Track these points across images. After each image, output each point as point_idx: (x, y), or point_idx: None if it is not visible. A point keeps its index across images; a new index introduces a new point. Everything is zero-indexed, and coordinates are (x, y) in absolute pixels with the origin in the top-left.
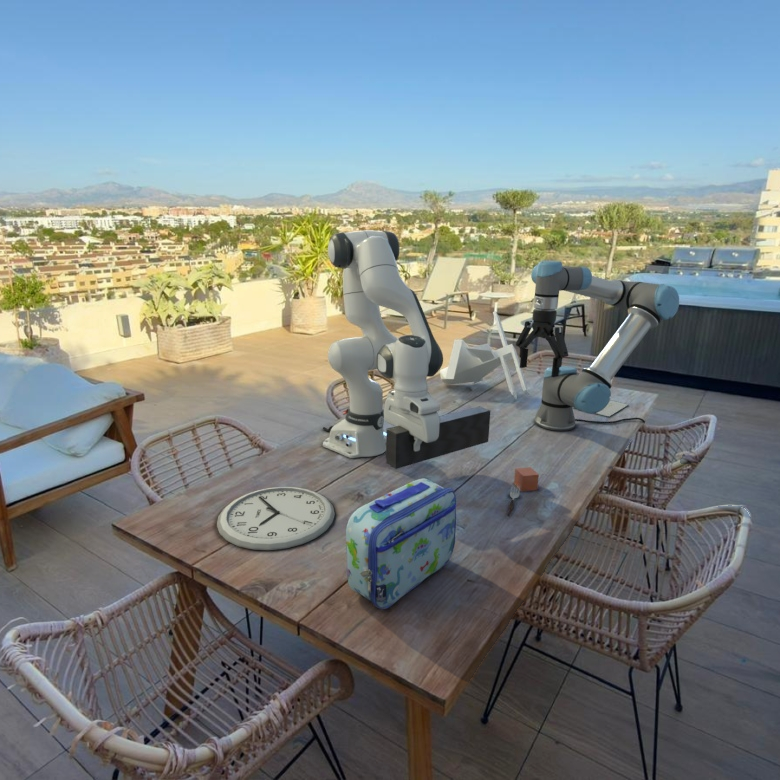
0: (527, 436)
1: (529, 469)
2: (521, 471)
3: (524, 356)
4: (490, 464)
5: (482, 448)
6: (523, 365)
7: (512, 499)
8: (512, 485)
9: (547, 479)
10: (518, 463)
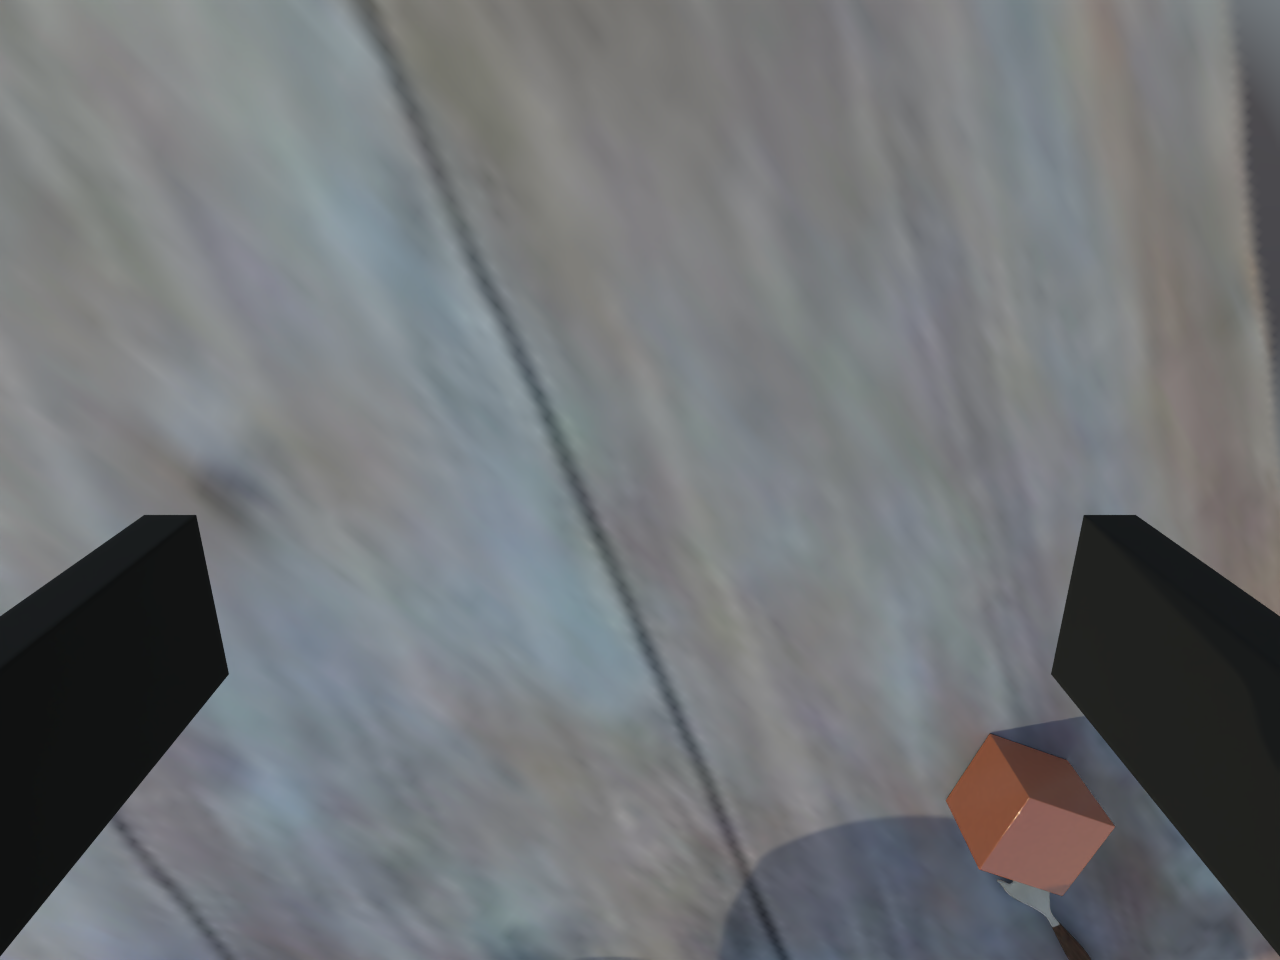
0: (507, 197)
1: (1042, 822)
2: (1023, 868)
3: (34, 805)
4: (711, 745)
5: (511, 637)
6: (191, 647)
7: (1053, 925)
8: (1000, 881)
9: (1041, 633)
10: (801, 614)
